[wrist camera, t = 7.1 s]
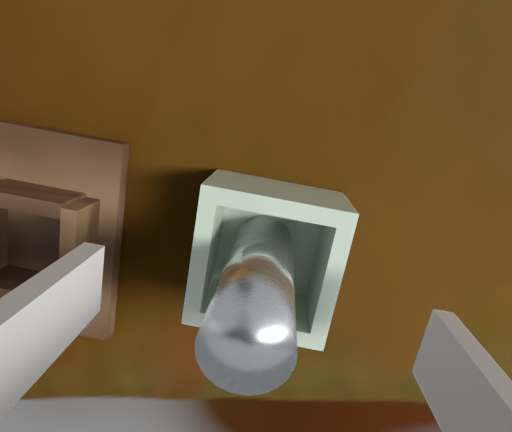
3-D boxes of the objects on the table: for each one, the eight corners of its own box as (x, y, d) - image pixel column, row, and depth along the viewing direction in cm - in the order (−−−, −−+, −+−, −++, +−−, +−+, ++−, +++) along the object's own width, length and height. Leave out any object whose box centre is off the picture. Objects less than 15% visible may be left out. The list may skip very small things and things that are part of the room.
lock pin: (239, 210, 21) (200, 297, 11) (297, 220, 21) (306, 316, 11) (231, 264, 22) (189, 385, 12) (287, 273, 22) (287, 403, 12)
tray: (217, 168, 21) (200, 184, 17) (342, 192, 21) (359, 214, 17) (200, 282, 23) (181, 323, 19) (315, 304, 23) (322, 351, 18)
